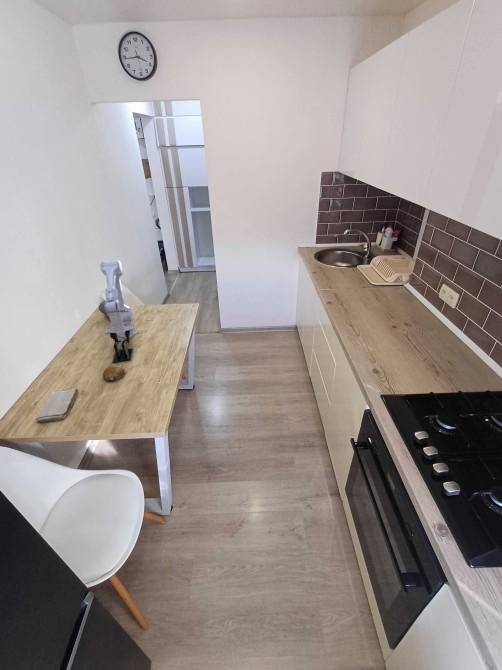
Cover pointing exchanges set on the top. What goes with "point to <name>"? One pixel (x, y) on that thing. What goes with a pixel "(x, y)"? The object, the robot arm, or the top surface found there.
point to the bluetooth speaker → (103, 308)
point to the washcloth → (57, 405)
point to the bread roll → (113, 372)
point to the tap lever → (120, 344)
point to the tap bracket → (122, 353)
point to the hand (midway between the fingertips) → (123, 343)
